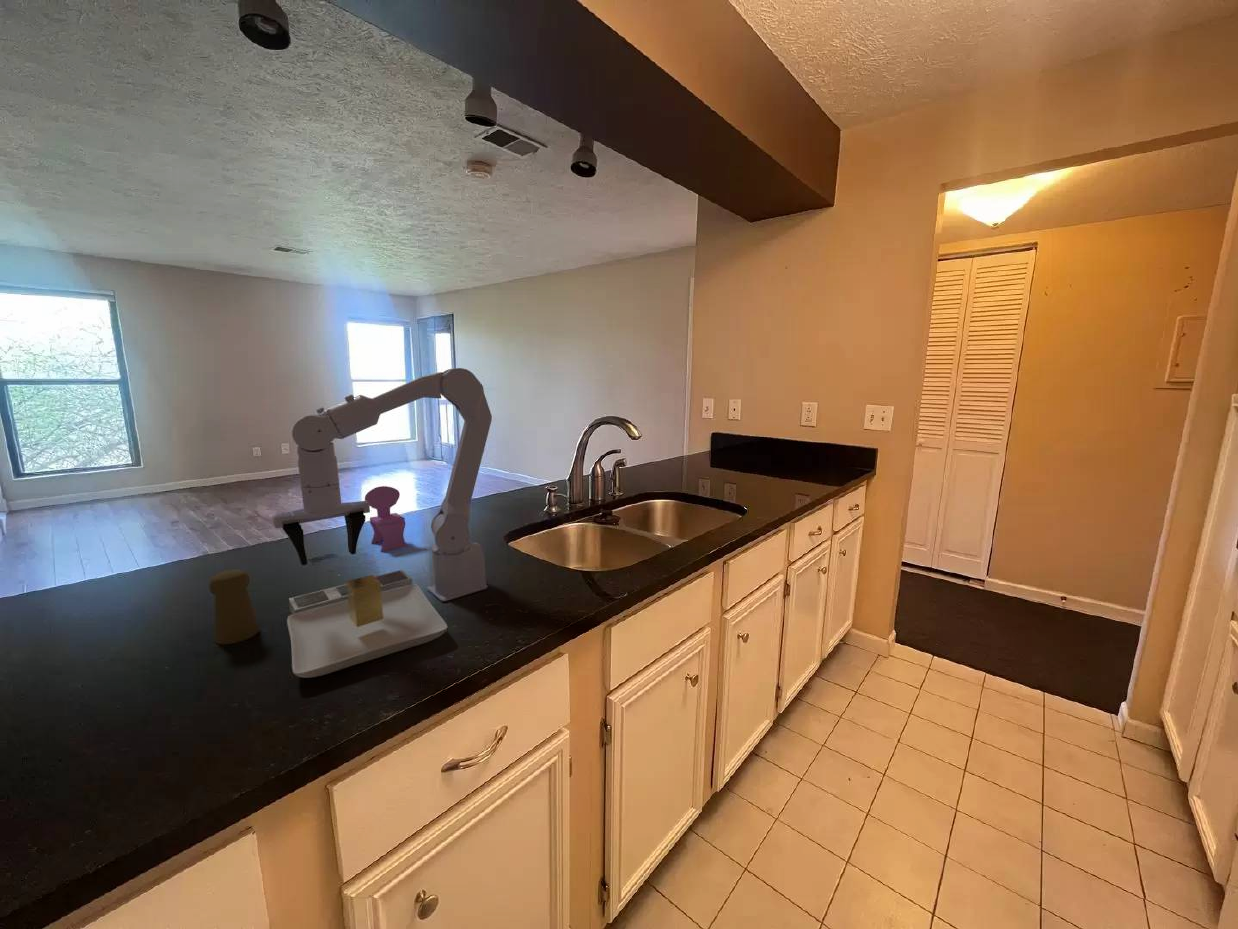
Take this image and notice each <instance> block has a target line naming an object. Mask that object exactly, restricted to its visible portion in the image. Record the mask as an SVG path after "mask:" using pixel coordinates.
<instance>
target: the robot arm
mask: <svg viewBox="0 0 1238 929" xmlns="http://www.w3.org/2000/svg"><path fill="white" fill-rule="evenodd" d="M442 397H443V398H444V399H445V400H446V401H448V402H449V403H451V404H452V405H453V406H454V407H455V409H456V410H457V412H458V414H460V416H461V418H463V420H464V421H463V426H462V431H461V434H460V438H459V442H458V445H457V449H456V454H455V457H454V461H453V466H452V469H451V474H450V476H449V477H450V478H449V480H448V485H447V489H446V493H445V497H444V499H443V500H442V502H441V504H440V508H439V511H438V512H437V513H436V514H435V515H434V517H433V518H432V521H431V525H430V529H431V532H432V534H433V536H434V544H433V545H432V546H431V556H432V559H431V560H432V569H433V570H432V571H433V573H432V574H433V584H432V585H430V586H429V585H428V586H427V587H426V589H427V591H429V592H430V593H431V594H432V595H433V596H435V597H436V599H438V600H439V601H440V602H443V603H444V602H448V601H450V600H454V599H456V598H461V597H463V596H466V595H469V594H473V593H476V592H480V591H483V590H486V589H487V588H488V585H487V581H486V567H485V555H484V552H483V549H482V547H481V545H480V544H479V543H477V542H470V539H471V534H470V530H469V522H470V517H471V512H470V510H471V502H472V498H473V494H474V490H475V486H476V482H477V479H478V474H479V470H480V468H481V462H482V460H483V455H484V451H485V447H486V444H487V439H488V435H489V433H490V428H491V425H492V424H491V423H492V421H493V420H492V416H493V415H492V412H491V410H490V406H489V403H488V400H487V398H486V395H485V391H484V385H483V384H482V383H481V381H480V380H479V379H478V378H477V376H476V375H475V374H474V373H473V372H471V371H470V370H469V369H467V368H463V367H457V368H449V369H446V370H444V371H440V372H439V371H438V372H436V373H432V374H431V373H430V374H427V375H423V376H419V377H417V378H415V379H413V380H411V381H408V382H406V383H404V384H401V385H399V386H397V387H395V388H393V389H390V390H388V391H386V392H383V393H381V394H379V395H377V396H375V397H373V398H371V397H368V396H366V395H362V394H358V395H356V396H354V395H353V394H350V395H347V396H345V397H344V399H345V400H344V401H342V402H339V403H336V404H334V405H332V406H329V407H326V408H324V407H323V406H322V407H319V408H317V409H316V413H317V414H309V415H306V416H304V417H302V418H301V419H299V420H298V421H297V422H296V423H295V424H294V425H293V428H292V431H291V435H292V440H293V441H294V442H295V444H296V445H297V446H296V448H297V449H296V452H297V455H298V459H297V465H298V472H299V479H300V480H299V482H300V488H301V497H302V505H303V508H300V509H296V510H291V511H288V512H282V513H279V514H278V513H277V514H273V515H272V521H273V527H274V529H280V528H281V529H282V530H283V531H284V532H285V534H286V535H287V536H288V538H289V540H290V541H291V543H292V545H293V546H294V548H295V550H296V553H297V555H298V559H299V561H300V562H299V563H300V564H301V566H306V565H308V558H307V555H306V549H305V548H306V547H305V540H304V539H305V538H304V530H303V528H302V525H301V524H304V523H309V522H310V523H311V522H316V521H322V520H327V519H334V518H339V517H344V521H345V525H346V533H347V549H348V552H349V553H350V554H351V555H356V554H357V546H358V545H357V544H358V541H359V536H360V534H361V531H362V530H363V529H362V528H363V526H364V524H365V522H366V515H365V514H368V513H370V512H371V509H370V507H371V506H369V502H367V501H365V500H361V501H360V500H359V501H352V502H349V501H348V502H342V496H341V488H340V479H339V471H338V470H339V469H338V468H339V467H338V461H337V460H338V459H337V456H336V455H335V454H336V453H335V446H334V442H333V441H334V440H335V439H336V440H337V439H338V440H344V439H345V438H347V437H350V436H352V435H355V434H357V433H360V432H362V431H364V430H367V429H369V428H371V427H374V426H376V425H377V424H378V422H379V419H380V416H381V415H382V414H384V413H387V412H389V411H393V410H395V409H397V408H400V407H402V406H405V405H407V404H410V403H412V402H415V401H417V400H420V399H423V398H428V399H442Z"/></svg>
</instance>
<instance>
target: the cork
mask: <svg viewBox="0 0 1238 929" xmlns="http://www.w3.org/2000/svg"><path fill="white" fill-rule="evenodd" d="M250 580H251V579H250V576H249V573H247V572H246V570H242V569H230V570H224V571H222V572H219V573H216V574H215V575H213V576H212V577H211V578H210V580H209V582H208V587H209V591H210V593H211V594H212V595H213V596H214V643H216V644H217V645H230V644H236V643H240V642H243V641H247V640H249V639H250V638H253V637H254V636H256V635H257V634H258V633H259V632H260V631H261V628H260V625H259V621H258V619H257V616H256V613H255V610H254V607H253V604H252V601H251V598H250V595H249V592H248V589H247V588H248V587H249V586H250V583H251V582H250Z"/></svg>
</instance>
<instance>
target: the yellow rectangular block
mask: <svg viewBox="0 0 1238 929" xmlns="http://www.w3.org/2000/svg"><path fill="white" fill-rule="evenodd" d="M345 584H346V585H347V595H348V604H349V614H350V619H351V620H352V621H353V623H354V624H355V625H356V627H359V626H363V625H366V624H369V623H372V622H375V621H378V620H381V619H383V609H382V598H381V586H380V582H379V581H378V580H377V579H376V578H375V576H374V575H373V574H371V575H367V576H363V577H362V576H361V577H359V578H355V579H350V580H347V581H346V583H345Z"/></svg>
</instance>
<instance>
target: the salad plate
mask: <svg viewBox="0 0 1238 929" xmlns="http://www.w3.org/2000/svg"><path fill="white" fill-rule="evenodd" d="M381 598H382V609H383V619H381V620H378V621H375V622H372V623H369V624H366V625H363V626H359V627H356V625H355V624H354V623H353V621H352V620H351V619H350V614H349V604H348V600H346V601H342V602H339V603H335V604H331V605H327V606H323V607H319V608H315V609H311V610H307V611H303V612H299V613H295V614H292V613H291V614H289V615H288V616H287V619H286V625H287V628H288V633H289V638H290V647H291V648H290V649H291V650H290V651H291V669H292V670H291V671H292V672H293V674H294V675H295V676H296V677H298V678H303V679H304V678H307V679H310V678H316V677H320V676H321V677H322V676H324V675H327V674H332V673H333V672H338V671H341V670H343V669H347V668H350V667H352V666H356V665H359V664H362V663H366V662H369V661H371V660H375V659H378V658H381V657H384V656H385V657H386V656H387V655H392V654H394V653H397V652H400V651H403V650H404V651H405V650H406V649H410V648H413V647H416V646H419V645H422V644H426V643H429V642H431V641H434V640H436V639H437V638H439V637H441V636H442V635H443V634H445V632H447V630H448V628H449V627H448V624H447V623H446V621H445V620H444V619H443V617H442V616H441V615H440V614H439V613H438V611H437V610H436V608H435V607H434V606H433V605H432V603H431V602H430V600H429V598H428V597H426V595H425V593H424V592H423V590H422V589H421V587H420V585H418V584H416V583H412V585H407V586H404V587H399V588H395V589H391V590H387V591H383V592H381Z"/></svg>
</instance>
